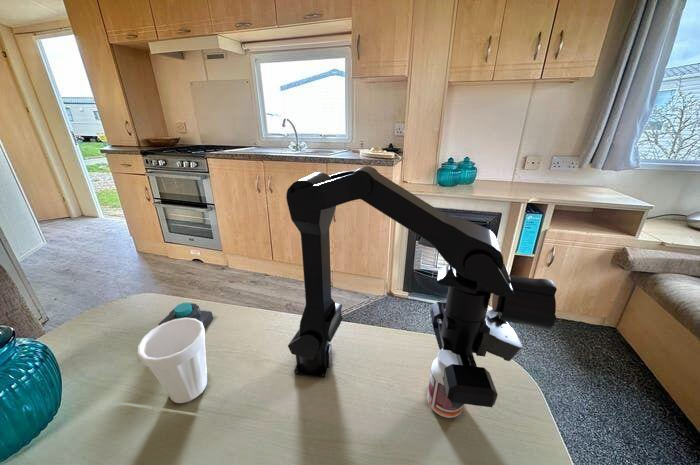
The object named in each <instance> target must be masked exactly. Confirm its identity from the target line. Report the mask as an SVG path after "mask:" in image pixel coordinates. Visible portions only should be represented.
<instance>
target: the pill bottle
mask: <svg viewBox="0 0 700 465" xmlns="http://www.w3.org/2000/svg"><path fill="white" fill-rule="evenodd" d="M451 364H457V365H459V363H458V359H457V356H456V354H455V353H452V352H451V351H450V350H443V348H442V349H441V350H440V349H439V351H438V353H437V356H436V357H435V359H433V361H432V363H431V369H430V373H429V374H430V375H429V381H428V387H427V403H428V405H429V406H430V409H432V411H433V412H434V413H436V414H438V415H439V416H441V417H444V418H447V419H451V418H456V417H458V416H459V415H460V414H461V413H462V411H463V409H464V405H463V406H462V407H460V408H453V407H452V405H451V402H450V400H449V399H448V398H447V395H446V392H445V387H444V381H443V377H444V369H445V367H447V366H449V365H451Z"/></svg>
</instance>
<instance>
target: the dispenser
mask: <svg viewBox="0 0 700 465" xmlns="http://www.w3.org/2000/svg"><path fill="white" fill-rule="evenodd" d="M189 303H190V304H191V306H192V310H193V311H192V313H191V314H189V315H187V316H186V317H181V318H195V319H197V320H199V321H200V322H202V324H203V326H204V329H206V328H207V326H208V325H209V324H210V323H211V322H212V321H213V319H214V315H213V312H212V311H210V310H201V307H200V305H198V304H197V303H192V302H189ZM174 319H180V318H178V317H176V315H175V311H174V308H173V309H171V311H170V312H169V313H168V315H166V316H165V317H164V318H163V319H162V320H161V321H160V322H159V323H157V324H158V325H157V326H159V325H161V324H163V323H166V322H168V321H171V320H174Z"/></svg>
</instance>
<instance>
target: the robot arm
mask: <svg viewBox="0 0 700 465" xmlns="http://www.w3.org/2000/svg"><path fill="white" fill-rule="evenodd" d="M285 199H286V204H287V207H288V212H289V216H290V220H291V222H292V223H293V225H294V226H295V227H296V228H297V230H298V231H299V233H300V241H301V242H300V243H301V245H300V246H301V257H302V259H301V260H302V270H303V271H302V272H303V284H304V285H303V286H304V298H305V305H304V309H303V312H302V315H301V318H300V321H299V328H298V330H297V332H296V333H295V335H294V336H293V338H291V340H290V342H289V343H288V344H287V347H288V350H289V351H290V354H291V355H294V356H295V361H296V362H295V363H296V365H295V368H294V370H293V373H294V375H295V376H303V377H311V378H319V379H325V378H326V376H327V372H328V369H330V368H331V364H332V360H333V355H332V354H333V351H332V350H333V348H332V344H331V342H332V341H333V338H334V336H335V334H336V333H337V331H338V330H339V327H340V325H341V323H342V321H343V319H344V318H343V314H342V308H343V304H342V303H336V302H335V300H334V299H333V298H332V283H331V282H332V281H331V280H332V278H331V247H330V246H331V245H330V244H331V243H330V242H331V241H330V227H331V225H332V222H333V219H334V215H335V212H336V208H337V206H340V205H344V204H346V203H349V202H354V201H359V200H361V201H363V202H364V203H366V204H368V205H369V206H371V207H372V208H374V209H375V210H376V211H379V212H380V213H382V214H384V215H385V216H387V217H388V218H390V219H391V220H393V221H395V222H396V223H397V224H399V225H401V226H403V227H404V228H405V229H407V230H409V231H410V232H412V233H413V234H415V235H417V236H418V237H420V238H422V239H423V240H425V241H426V242H428V243H429V244H430V245H431V246H433V248H434V249H435V250H436V252H438V253H439V255H440V256H441V258H442V259H443V260H444V262H445V263H447V265H446V266H443V267H441V268H439V269H437V278H436V283H437V284H438V285H440V286H446V287H448V290H447V296H446V300H445V301H436V302H434V303H433V304H431V308H430V316H431V323H432V329H433V332H434V336H435V339H436V341H437V345H438V348H439V351H440V350H441V349H442V348H443V350H450V351H451V352H452V353H455V354H456V356H457V359H458V363H459V365H457V364H451V365H449V366H447V367H445V369H444V377H443V381H444V387H445V392H446V395H447V398H448V399H449V400H450V402H451V405H452V407H453V408H460V407H462V406H463V407H464V405H468V406H478V407H485V408H493V407H494V406H495V404H496V403H497V402H496V401H497V399H498V391H497V389H496V387H495V384H494V381H493V378H492V375H491V373H490V372H489V370H488V369H486V368H485V367H483V366H477V363H476V360H475V357H474V354H475V355H476V357H484V358H485V357H486V355H487V353H488V354H491V355H494V356H496V357H499V358H501V359H503V360H504V361H506V362H511V360H513V359H514V357H515V356H516V355H518V353H519V352H520V351H521V350H522V349H523V344H522V342H521V340H520V338H519V337H518V334H517V333H516V331H515V329H514V328H513V327H512V326H511V325H510V324H509V323H511V324H518V325H522V326H527V327H531V328H532V327H533V328H537V329H541V330H547V331H549V330H551V329H552V328H553V327H554V325H555V324H556V321H557V314H556V310H557V302H556V301H557V300H556V294H557V290H558V289H557V287H556V285H555V283H554V282H553V280H552V279H547V278H531V277H526V276H520V275H513V274H509V271H508V268H507V266H506V263H504V262H505V261H504V255H503V253H502V250H501V247H500V243H499V241H498V238H497V236H496V234H495V233H494V232H493V231H491V229H489V228H487V227H485V226H483V225H480V224H478V223H475V222H472V221H470V220H468V219H465V218H464V219H463V218H458V217H454V216H452V215H448V214H446V213H444V212H443V211H441V210H440V209H438V208H436V207H434V206H433V205H431V204H430V203H429V202H427V201H425V200H423V199H422V198H420V197H418V196H417V195H416V194H413V193H412V192H410V191H409V190H407V189H406V188H405V187H402V186H401V185H399V184H397V183H396V182H394V181H393V180H391V179H389V178H387V177H386V176H385V175H383V174H381V173H380V172H379V171H378V170H377V169H376V168H375V167H373V166H370V165H364V166H361V167H359V168H356V169H353V170H346V171H341V172H337V173H334V174H327V173H325V172H314V173H311V174H309V175H308V176H305V177H303V178H300V179H299V180H296V181H295V182H292V184H291V185H290V186H289V187H288V188H287V190H286V195H285ZM491 297H492V298H491ZM490 301H491V307H492V309H490V310H488V309H489V305H490Z"/></svg>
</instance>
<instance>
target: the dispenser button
mask: <svg viewBox="0 0 700 465" xmlns="http://www.w3.org/2000/svg"><path fill="white" fill-rule="evenodd" d="M190 303H191V302H182V303H179V304H177V305H176V306H175V307H174V308H173V309H174V311H175V315H176V317H178V318H181V317H186V316H187V315H189V314H191V313H192V311H193V310H192V306H191V304H190Z"/></svg>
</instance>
